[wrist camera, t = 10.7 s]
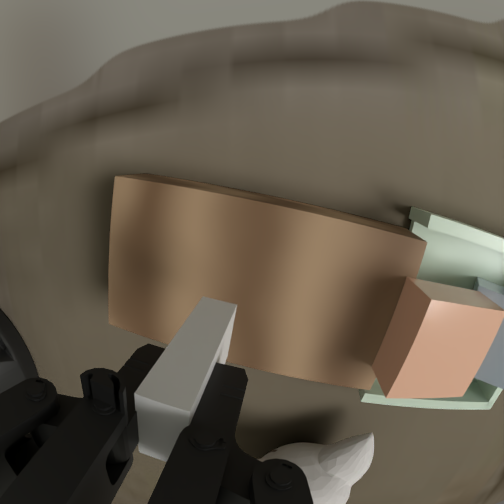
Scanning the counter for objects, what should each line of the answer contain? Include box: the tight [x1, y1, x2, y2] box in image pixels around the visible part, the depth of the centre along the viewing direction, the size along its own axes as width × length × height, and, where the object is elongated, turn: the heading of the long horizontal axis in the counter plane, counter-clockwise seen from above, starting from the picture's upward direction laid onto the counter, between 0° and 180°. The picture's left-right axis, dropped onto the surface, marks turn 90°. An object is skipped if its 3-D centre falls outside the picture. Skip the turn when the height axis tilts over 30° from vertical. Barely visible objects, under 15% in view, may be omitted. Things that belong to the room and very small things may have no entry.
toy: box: [257, 433, 374, 504], centre depth 22 cm, size 13×9×15 cm
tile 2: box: [371, 277, 504, 398], centre depth 15 cm, size 6×6×3 cm
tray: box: [359, 206, 504, 410], centre depth 18 cm, size 12×13×4 cm
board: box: [108, 174, 427, 390], centre depth 19 cm, size 18×10×4 cm, turn 80°
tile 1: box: [473, 277, 504, 389], centre depth 16 cm, size 6×6×3 cm
